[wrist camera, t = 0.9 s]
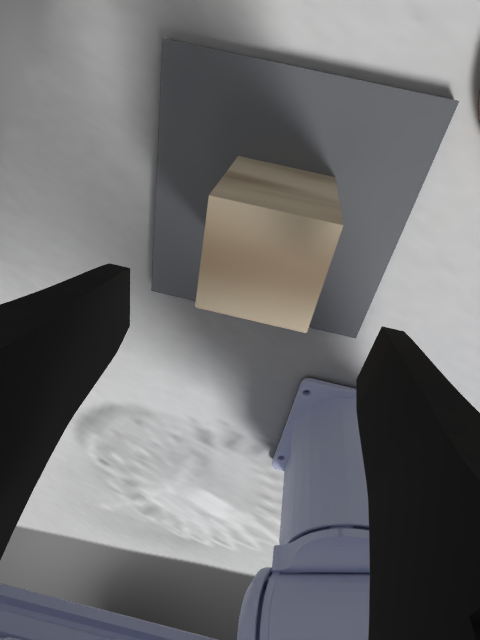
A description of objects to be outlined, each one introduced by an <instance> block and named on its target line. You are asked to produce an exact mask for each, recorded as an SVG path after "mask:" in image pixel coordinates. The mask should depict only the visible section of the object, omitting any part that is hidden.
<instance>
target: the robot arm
mask: <svg viewBox="0 0 480 640" xmlns="http://www.w3.org/2000/svg"><path fill="white" fill-rule="evenodd" d="M129 326H130V268H127V267H122V266H118V265H114V264H106V265H103V266H100V267H98V268H95V269H92V270H90V271H88V272H85V273H83V274H80V275H78V276H76V277H73V278H71V279H68V280H66V281H63V282H61V283H58V284H56V285H54V286H51V287H49V288H46V289H43V290H41V291H38V292H35V293H32V294H30V295H27V296H24V297H21V298H18V299H16V300H13V301H10V302H7V303H4V304H1V305H0V560H1V557H2V555H3V553H4V551H5V548H6V546H7V544H8V542H9V540H10V537H11V535H12V533H13V531H14V528H15V527H16V524H17V522H18V520H19V518H20V516H21V514H22V512H23V510H24V508H25V506H26V504H27V502H28V500H29V497H30V495H31V493H32V491H33V489H34V487H35V485H36V483H37V481H38V479H39V478H40V476H41V474H42V472H43V470H44V468H45V466H46V464H47V462H48V460H49V458H50V456H51V454H52V452H53V451H54V449H55V447H56V445H57V443H58V441H59V440H60V438H61V436H62V434H63V432H64V430H65V429H66V427H67V425H68V424H69V422H70V420H71V419H72V417H73V416H74V414H75V412H76V411H77V410H78V408H79V407H80V405H81V404H82V402H83V401H84V399H85V398H86V397H87V395H88V394H89V392H90V391H91V389H92V388H93V387H94V385H95V384H96V382H97V381H98V379H99V378H100V376H101V375H102V374H103V372H104V371H105V369H106V368H107V366H108V365H109V363H110V362H111V360H112V359H113V357H114V356H115V354H116V353H117V351H118V349H119V347H120V345H121V343H122V341H123V339H124V337H125V335H126V333H127V331H128V328H129ZM304 390H309V391H308V392H305V391H304ZM272 466H273V467H274V468H275V469H278V470H282V471H285V472H284V485H283V499H282V512H281V525H280V539H279V543H280V545H276V546H274V552H273V563H272V568H270V567H265V568H263V569H261V570H260V571H259V572H258V573H257V574H256V576H255V578H254V579H253V582H252V583H251V585H250V586H249V588H248V589H247V592H246V594H245V597H244V600H243V603H242V608H241V613H240V618H239V625H238V636H237V640H480V413H479V412H478V411H477V410H476V409H475V408H474V407H473V406H472V405H471V404H470V403H469V402H468V401H467V400H466V399H465V398H464V397H463V396H462V395H461V394H460V393H459V392H458V391H457V389H456V388H455V387H454V386H453V385H452V384H451V383H450V382H449V381H448V380H447V379H446V378H445V376H444V375H443V374H442V373H441V372H440V371H439V370H438V369H437V367H436V366H435V365H434V364H433V363H432V362H431V361H430V359H429V358H428V357H427V356H426V355H425V354H424V353H423V351H422V350H421V349H420V348H419V347H418V346H417V345H416V344H415V342H414V341H413V340H412V339H411V338H410V337H409V336H408V335H407V334H406V333H405V332H404V331H399V330H395V329H391V328H386V327H381V330H380V332H379V334H378V336H377V338H376V340H375V342H374V344H373V346H372V348H371V351H370V353H369V355H368V357H367V359H366V361H365V363H364V365H363V367H362V369H361V371H360V374H359V376H358V378H357V387H356V389H354V388H350V387H346V386H342V385H337V384H333V383H329V382H325V381H321V380H316V379H312V378H305V379H303V380H302V381H301V383H300V386H299V389H298V392H297V394H296V397H295V400H294V403H293V406H292V408H291V411H290V414H289V417H288V419H287V422H286V425H285V428H284V430H283V433H282V436H281V439H280V441H279V444H278V447H277V450H276V452H275V455H274V458H273V461H272ZM0 640H217V639H213V638H209V637H205V636H202V635H198V634H194V633H190V632H186V631H183V630H179V629H175V628H171V627H167V626H163V625H160V624H156V623H152V622H148V621H144V620H140V619H136V618H133V617H128V616H125V615H121V614H117V613H113V612H110V611H106V610H102V609H98V608H94V607H90V606H87V605H83V604H78V603H75V602H71V601H67V600H63V599H60V598H56V597H52V596H48V595H44V594H40V593H37V592H33V591H29V590H25V589H21V588H17V587H13V586H9V585H6V584H2V583H0Z"/></svg>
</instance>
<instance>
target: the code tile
mask: <svg viewBox="0 0 480 640" xmlns="http://www.w3.org/2000/svg"><path fill="white" fill-rule="evenodd" d="M458 103H459V101H457V100H454V99H449V98H444V97H439V96H435V95H430V94H425V93H421V92H416V91H411V90H406V89H402V88H397V87H392V86H387V85H383V84H378V83H373V82H368V81H364V80H359V79H354V78H349V77H345V76H340V75H335V74H331V73H326V72H321V71H316V70H312V69H307V68H302V67H297V66H293V65H288V64H283V63H278V62H274V61H269V60H264V59H259V58H255V57H250V56H245V55H240V54H236V53H231V52H226V51H222V50H217V49H212V48H207V47H203V46H198V45H193V44H188V43H184V42H179V41H174V40H169V39H163V42H162V65H161V87H160V110H159V132H158V155H157V177H156V200H155V222H154V245H153V267H152V289H151V291H155V292H159V293H164V294H168V295H172V296H177V297H181V298H185V299H189V300H194V301H196V295H197V287H198V279H199V271H200V263H201V255H202V247H203V239H204V231H205V223H206V215H207V207H208V199H209V194H210V193H211V192H212V190H213V189H214V188H215V186H216V185H217V184H218V182H219V181H220V180H221V178H222V177H223V176H224V174H225V173H226V172H227V170H228V169H229V168H230V166H231V165H232V164H233V162H234V161H235V160H236V158H237V157H238V156H241V157H246V158H250V159H255V160H259V161H264V162H268V163H273V164H277V165H282V166H286V167H291V168H296V169H300V170H305V171H309V172H314V173H318V174H323V175H327V176H332V177H336V182H337V189H338V195H339V201H340V207H341V214H342V220H343V228H342V231H341V234H340V237H339V240H338V243H337V246H336V249H335V252H334V254H333V257H332V260H331V263H330V266H329V269H328V272H327V275H326V278H325V281H324V284H323V287H322V290H321V293H320V296H319V299H318V301H317V304H316V307H315V310H314V313H313V316H312V319H311V322H310V325H309V327H310V328H314V329H318V330H323V331H327V332H331V333H336V334H340V335H344V336H349V337H353V338H356V336H357V334H358V332H359V330H360V327H361V325H362V323H363V320H364V318H365V316H366V314H367V311H368V309H369V307H370V304H371V302H372V300H373V297H374V295H375V293H376V291H377V288H378V286H379V284H380V281H381V279H382V277H383V275H384V272H385V270H386V268H387V265H388V263H389V261H390V259H391V256H392V254H393V252H394V249H395V247H396V245H397V243H398V240H399V238H400V236H401V233H402V231H403V229H404V226H405V224H406V222H407V220H408V217H409V215H410V213H411V210H412V208H413V206H414V204H415V201H416V199H417V197H418V194H419V192H420V190H421V188H422V185H423V183H424V181H425V178H426V176H427V174H428V172H429V169H430V167H431V165H432V162H433V160H434V158H435V155H436V153H437V151H438V149H439V146H440V144H441V142H442V139H443V137H444V135H445V133H446V130H447V128H448V126H449V123H450V121H451V119H452V117H453V114H454V112H455V110H456V107H457V105H458Z"/></svg>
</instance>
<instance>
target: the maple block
mask: <svg viewBox="0 0 480 640" xmlns="http://www.w3.org/2000/svg"><path fill="white" fill-rule="evenodd" d="M342 228H343V220H342V214H341V207H340V201H339V195H338V189H337V182H336V177H332V176H327V175H323V174H318V173H314V172H309V171H305V170H300V169H296V168H291V167H286V166H282V165H277V164H273V163H268V162H264V161H259V160H255V159H250V158H246V157H241V156H238V157H237V158H236V160H235V161H234V162H233V164H232V165H231V166H230V168H229V169H228V170H227V172H226V173H225V174H224V176H223V177H222V178H221V180H220V181H219V182H218V184H217V185H216V186H215V188H214V189H213V190H212V192H211V193H210V194H209V199H208V207H207V215H206V223H205V231H204V239H203V247H202V255H201V263H200V271H199V279H198V287H197V295H196V303H195V307H196V308H200V309H204V310H209V311H213V312H217V313H221V314H226V315H230V316H234V317H239V318H243V319H247V320H251V321H256V322H260V323H264V324H269V325H273V326H277V327H281V328H286V329H290V330H294V331H299V332H303V333H307V331H308V328H309V325H310V322H311V319H312V316H313V313H314V310H315V307H316V304H317V301H318V299H319V296H320V293H321V290H322V287H323V284H324V281H325V278H326V275H327V272H328V269H329V266H330V263H331V260H332V257H333V254H334V252H335V249H336V246H337V243H338V240H339V237H340V234H341V231H342Z"/></svg>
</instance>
